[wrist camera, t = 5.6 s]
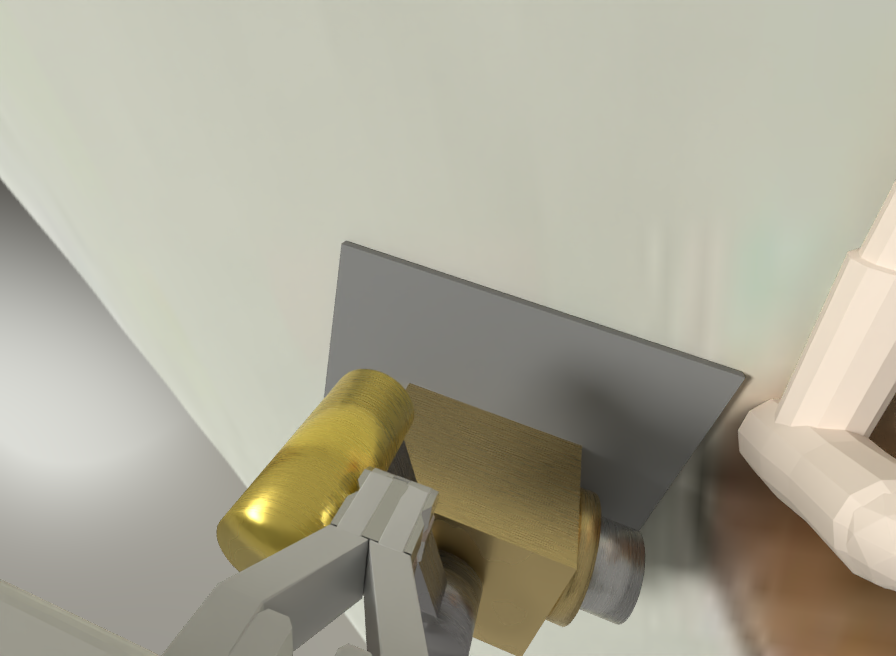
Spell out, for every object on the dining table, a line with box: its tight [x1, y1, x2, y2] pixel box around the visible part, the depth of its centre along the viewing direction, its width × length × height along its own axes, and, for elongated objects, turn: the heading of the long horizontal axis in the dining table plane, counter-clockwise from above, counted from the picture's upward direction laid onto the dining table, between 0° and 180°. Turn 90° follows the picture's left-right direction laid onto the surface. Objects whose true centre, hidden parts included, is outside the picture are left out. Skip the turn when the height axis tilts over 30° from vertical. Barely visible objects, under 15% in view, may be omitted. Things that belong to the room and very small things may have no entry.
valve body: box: [404, 383, 645, 656], centre depth 20 cm, size 14×6×6 cm, turn 77°
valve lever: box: [217, 369, 483, 656], centre depth 13 cm, size 11×3×6 cm, turn 12°
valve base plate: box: [324, 241, 745, 531], centre depth 21 cm, size 16×12×1 cm
